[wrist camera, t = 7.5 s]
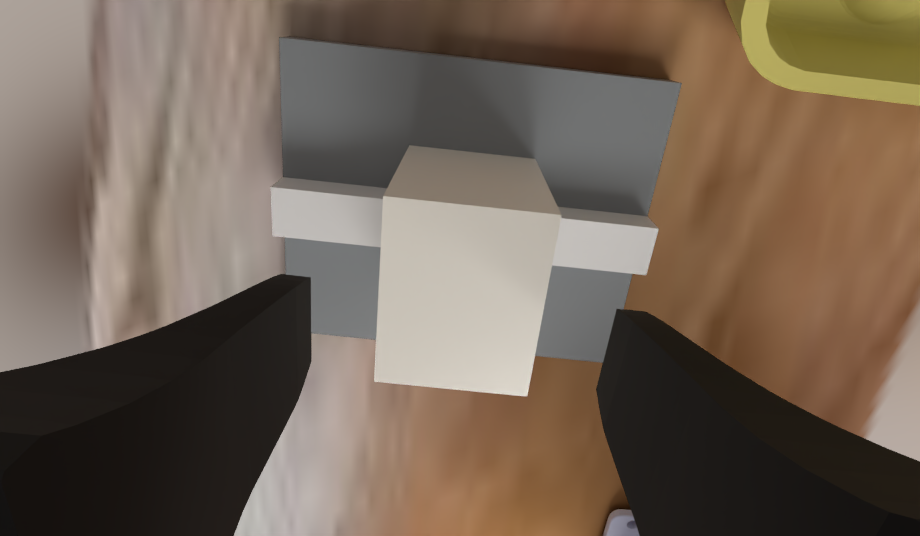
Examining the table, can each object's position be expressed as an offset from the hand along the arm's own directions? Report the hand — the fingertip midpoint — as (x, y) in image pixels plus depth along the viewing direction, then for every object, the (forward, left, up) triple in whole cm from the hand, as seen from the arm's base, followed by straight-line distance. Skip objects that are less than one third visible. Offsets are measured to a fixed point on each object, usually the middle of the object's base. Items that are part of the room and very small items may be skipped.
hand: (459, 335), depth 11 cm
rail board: (0, 0, -8) cm, 8 cm away
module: (0, 0, -7) cm, 7 cm away
